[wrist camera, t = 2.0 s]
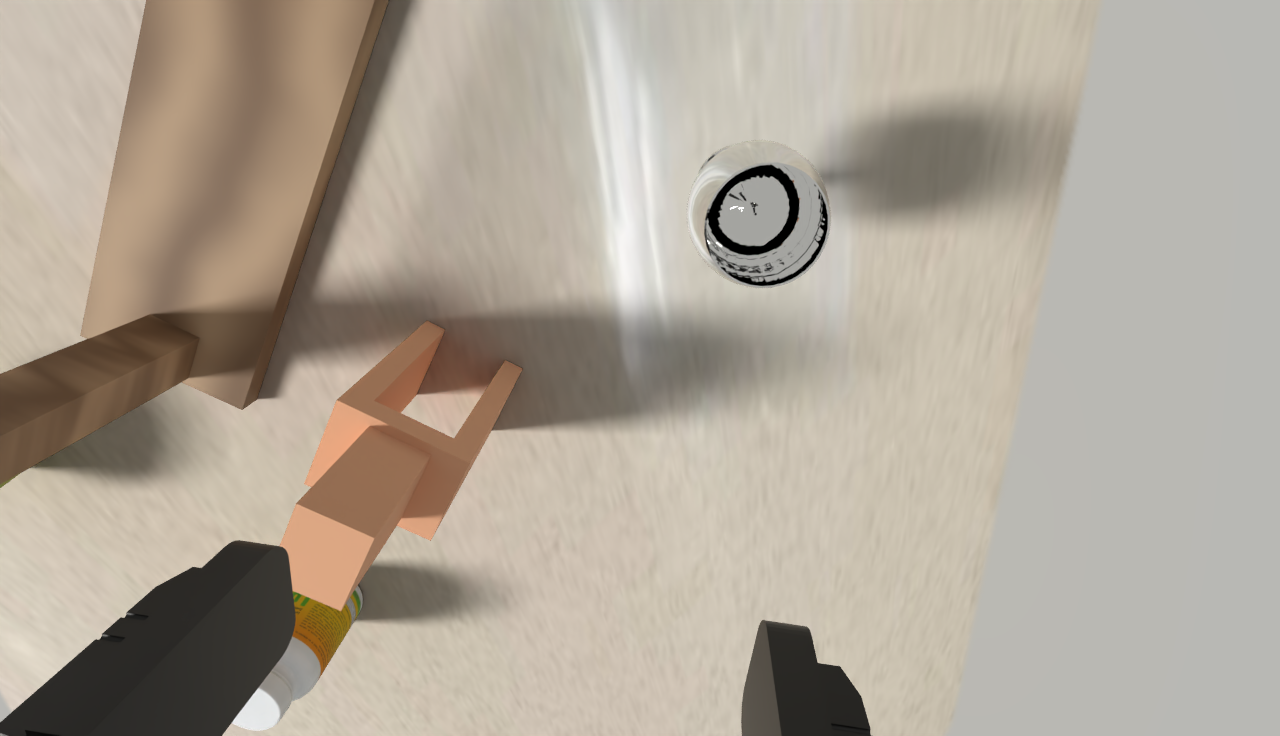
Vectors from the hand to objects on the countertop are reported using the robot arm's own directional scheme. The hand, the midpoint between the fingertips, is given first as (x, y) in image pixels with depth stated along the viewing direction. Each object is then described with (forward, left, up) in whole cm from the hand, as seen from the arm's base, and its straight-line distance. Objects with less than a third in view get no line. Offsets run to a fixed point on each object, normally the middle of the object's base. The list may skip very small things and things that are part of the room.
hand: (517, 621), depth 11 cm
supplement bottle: (-7, -33, -28) cm, 44 cm away
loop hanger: (-5, -12, -28) cm, 31 cm away
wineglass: (+4, +6, -28) cm, 29 cm away
